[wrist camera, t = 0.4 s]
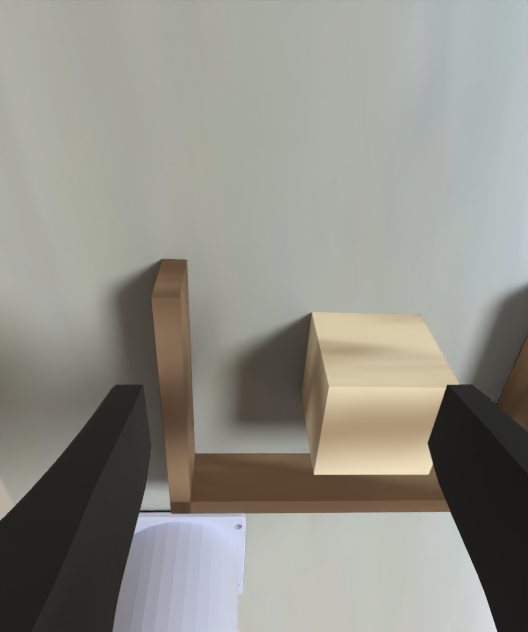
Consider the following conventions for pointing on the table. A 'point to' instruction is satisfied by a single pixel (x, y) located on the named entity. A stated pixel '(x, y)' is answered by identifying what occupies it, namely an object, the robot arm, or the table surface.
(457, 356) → the table surface
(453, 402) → the robot arm
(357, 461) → the maple block
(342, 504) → the open walnut frame
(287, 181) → the table surface
